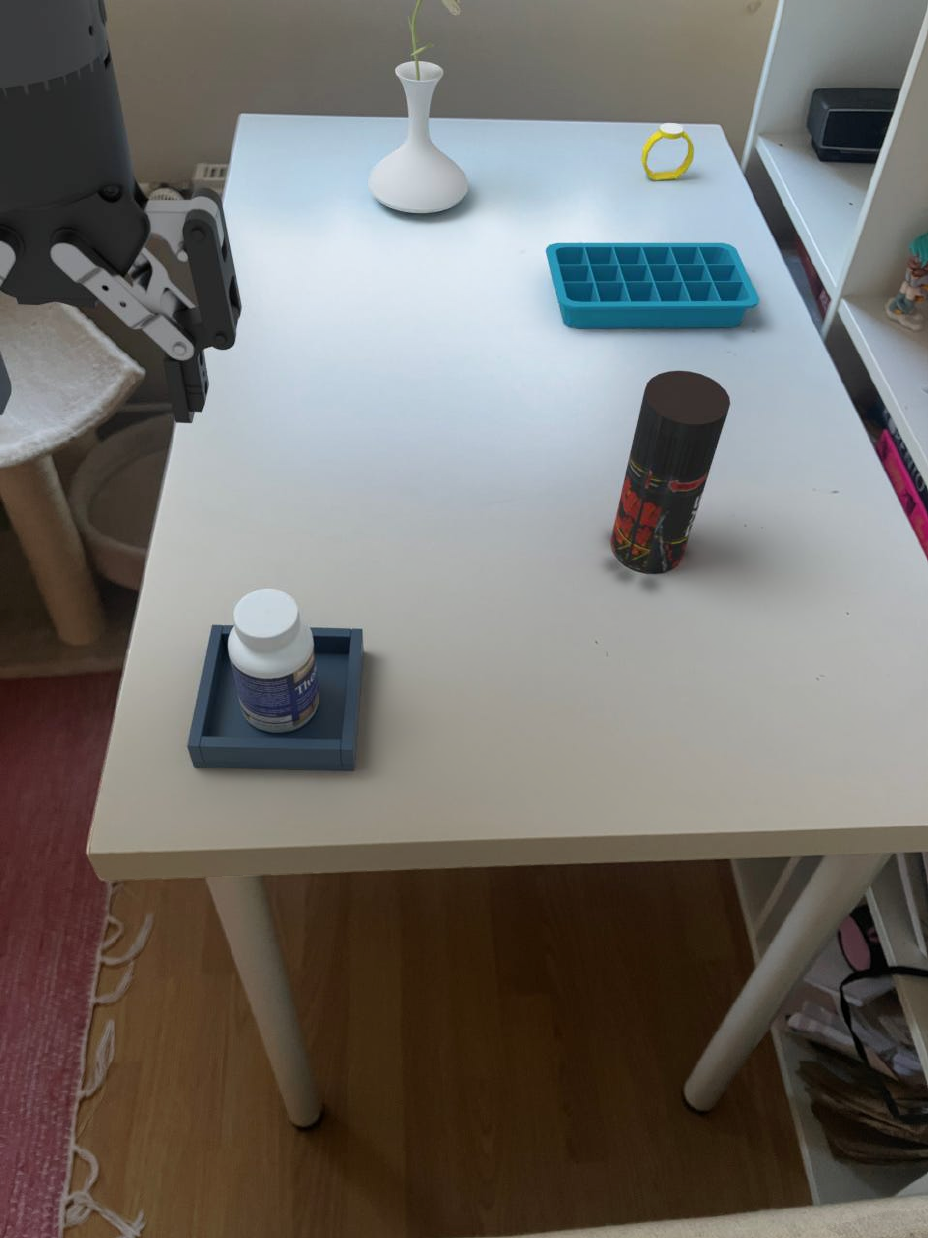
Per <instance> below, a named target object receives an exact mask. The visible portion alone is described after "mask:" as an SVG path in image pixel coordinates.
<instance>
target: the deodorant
mask: <svg viewBox="0 0 928 1238" xmlns="http://www.w3.org/2000/svg"><path fill="white" fill-rule="evenodd" d="M641 400H642V401H641V404H640V408H639V413H638V417H637V422H636V426H635V430H634V436H633V439H632V444H631V447H630V453H629V457H628V462H627V465H626V470H625V474H624V479H623V482H622V483H623V484H622V487H621V492H620V498H619V501H618V506H617V509H616V514H615V519H614V523H613V527H612V531H611V532H612V533H611V538H610V548H611V551H612V554H613V555H614V557H615V558H616V559H617V560H618V561H619V562H620V563H621V564H623V566H625V567H627V568H628V569H630V570H633V571H634V572H640V573H642V574H652V575H654V574H655V575H656V574H662V573H663V574H664V573H666V572H669V571H671V570H673V569H675V568H676V567H677V566H678V565H679V564H680V563H681V561H682V560H683V558H684V553H685V552H686V548H687V545H688V542H689V539H690V535H691V532H692V528H693V525H694V522H695V519H696V515H697V513H698V510H699V506H700V503H701V500H702V498H703V497H702V496H703V493H704V490H705V487H706V484H707V481H708V477H709V473H710V472H711V471H710V470H711V468H712V465H713V461H714V458H715V455H716V452H717V448H718V445H719V442H720V439H721V435H722V433H723V430H724V426H725V422H726V419H727V417H728V413H729V410H730V406H731V399H730V396H729V394H728V392H727V390H726V389H725V388H724V387H723V386H722V385H721V384H720V383H719V382H717V381H715V379H713V378H711V377H709V376H707V375H704V374H701V373H698V372H693V371H690V370H689V371H688V370H670V371H665V372H661V373H658V374H657V375H655V376H653V377H651V378H650V379H649V381H647V382H646V385H645V388H644V391H643V395H642V399H641Z"/></svg>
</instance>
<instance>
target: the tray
mask: <svg viewBox="0 0 928 1238" xmlns="http://www.w3.org/2000/svg"><path fill="white" fill-rule="evenodd" d="M233 627H234V624H211V628H210V632H209V637H208V642H207V648H206V652H205V656H204V662H203V667H202V672H201V676H200V681H199V687H198V691H197V696H196V701H195V705H194V710H193V716H192V720H191V724H190V725H191V726H190V729H189V735H188V740H187V745H186V748H187V750H188V754H189V756H190V761H191V763H192V766H193V767H194V768H219V769H220V768H222V769H223V768H224V769H226V768H227V769H264V770H265V769H270V770H308V771H309V770H313V771H315V770H317V771H355V768H356V767H355V766H356V754H357V741H358V729H359V719H360V718H359V717H360V716H359V715H360V706H361V705H360V704H361V693H362V692H361V691H362V678H363V677H362V676H363V666H364V652H365V649H364V630H363V628H355V627H354V628H350V627H316V626H315V627H314V626H312V627H311V626H309V627H310V629H311V631H312V635H313V640H314V650H315V659H316V668H317V678H318V688H319V704H318V707H317V710H316V712H315V714H314V715H313V717H312V718H311V719H310V720H309V721H308V722H307V723H306V724H304V725H303V726H301V727H300V728H298V729H296V730H293V731H290V732H283V733H271V732H266V731H263V730H260V729H258V728H256V727H254V726H253V725H251V724H250V723H249V722H248V721H247V720H246V718H245V716H244V715H243V712H242V709H241V706H240V702H239V697H238V692H237V688H236V683H235V678H234V674H233V669H232V665H231V661H230V656H229V650H228V640H229V635H230V633H231V630H232V628H233Z"/></svg>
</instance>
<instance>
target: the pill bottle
mask: <svg viewBox="0 0 928 1238" xmlns="http://www.w3.org/2000/svg"><path fill="white" fill-rule="evenodd" d="M232 619H233V625H234V627H233V628H232V630H231V633H230V635H229V640H228V650H229V656H230V661H231V665H232V669H233V674H234V678H235V683H236V688H237V692H238V697H239V702H240V706H241V709H242V712H243V715H244V716H245V718H246V720H247V721H248V722H249V723H250V724H251V725H253V726H254V727H256V728H258V729H260V730H263V731H266V732H271V733H283V732H290V731H293V730H296V729H298V728H300V727H301V726H303V725H304V724H306V723H307V722H308V721H309V720H310V719H311V718H312V717H313V715H314V714H315V712H316V710H317V707H318V704H319V688H318V678H317V668H316V659H315V650H314V640H313V635H312V631H311V629H310V627H311V626H310V625H309V623H308V622H307V621H306V619H305V618H304V617H303V616H302V615H300V612H299V607H298V604H297V601H296V600H295V599H294V598H293V597H292V596H291V595H289V594H288V593H287V592H285V591H283V590H280V589H275V588H261V589H257V590H253V591H251V592H249V593H247V594H245V595H244V596H242V597H241V599H239V601H238V602H237V603H236V604H235V606H234V608H233V614H232Z"/></svg>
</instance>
